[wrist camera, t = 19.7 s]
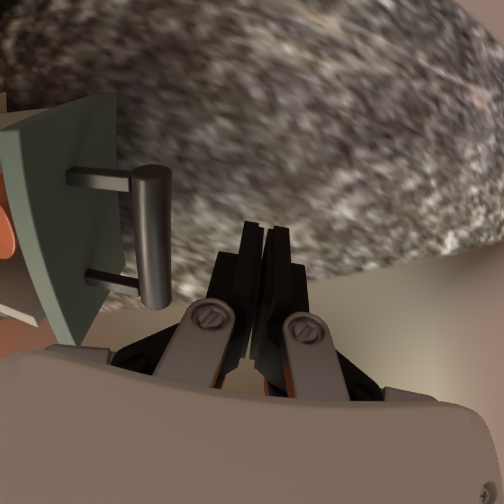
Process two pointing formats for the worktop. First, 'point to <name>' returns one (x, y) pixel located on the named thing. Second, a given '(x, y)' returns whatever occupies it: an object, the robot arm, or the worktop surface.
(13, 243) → the orange cylinder
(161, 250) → the green-fronted drawer
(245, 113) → the worktop surface
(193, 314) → the robot arm
